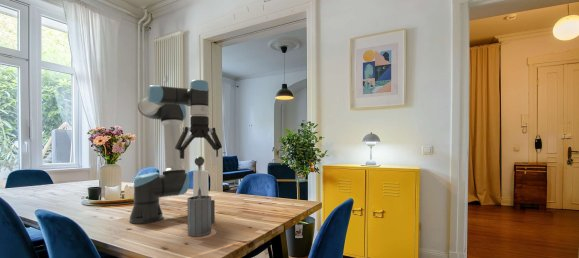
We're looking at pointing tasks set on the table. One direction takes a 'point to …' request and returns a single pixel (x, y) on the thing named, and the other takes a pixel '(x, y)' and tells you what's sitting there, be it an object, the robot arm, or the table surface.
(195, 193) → the white slotted column
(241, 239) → the table surface
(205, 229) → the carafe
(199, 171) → the plunger
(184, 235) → the trivet
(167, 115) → the robot arm
